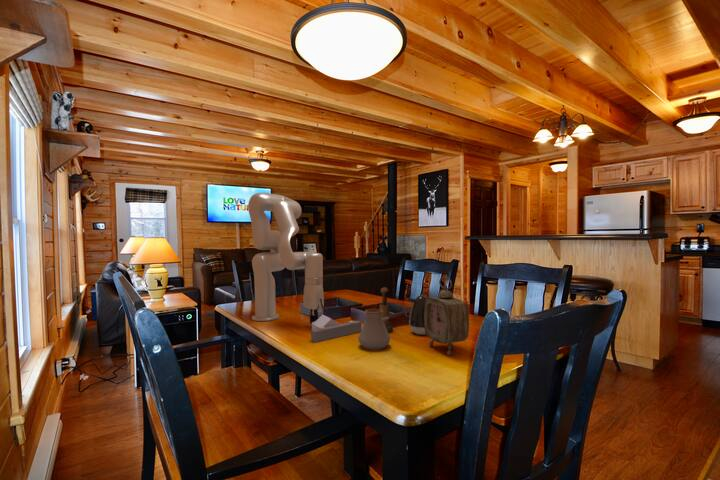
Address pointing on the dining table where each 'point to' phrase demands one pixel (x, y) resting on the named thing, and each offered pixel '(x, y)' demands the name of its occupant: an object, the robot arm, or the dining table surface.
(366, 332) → the coffee pot
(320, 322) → the wedge on round base
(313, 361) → the dining table surface
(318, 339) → the bar
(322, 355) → the dining table surface
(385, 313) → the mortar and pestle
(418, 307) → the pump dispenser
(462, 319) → the tabletop clock
